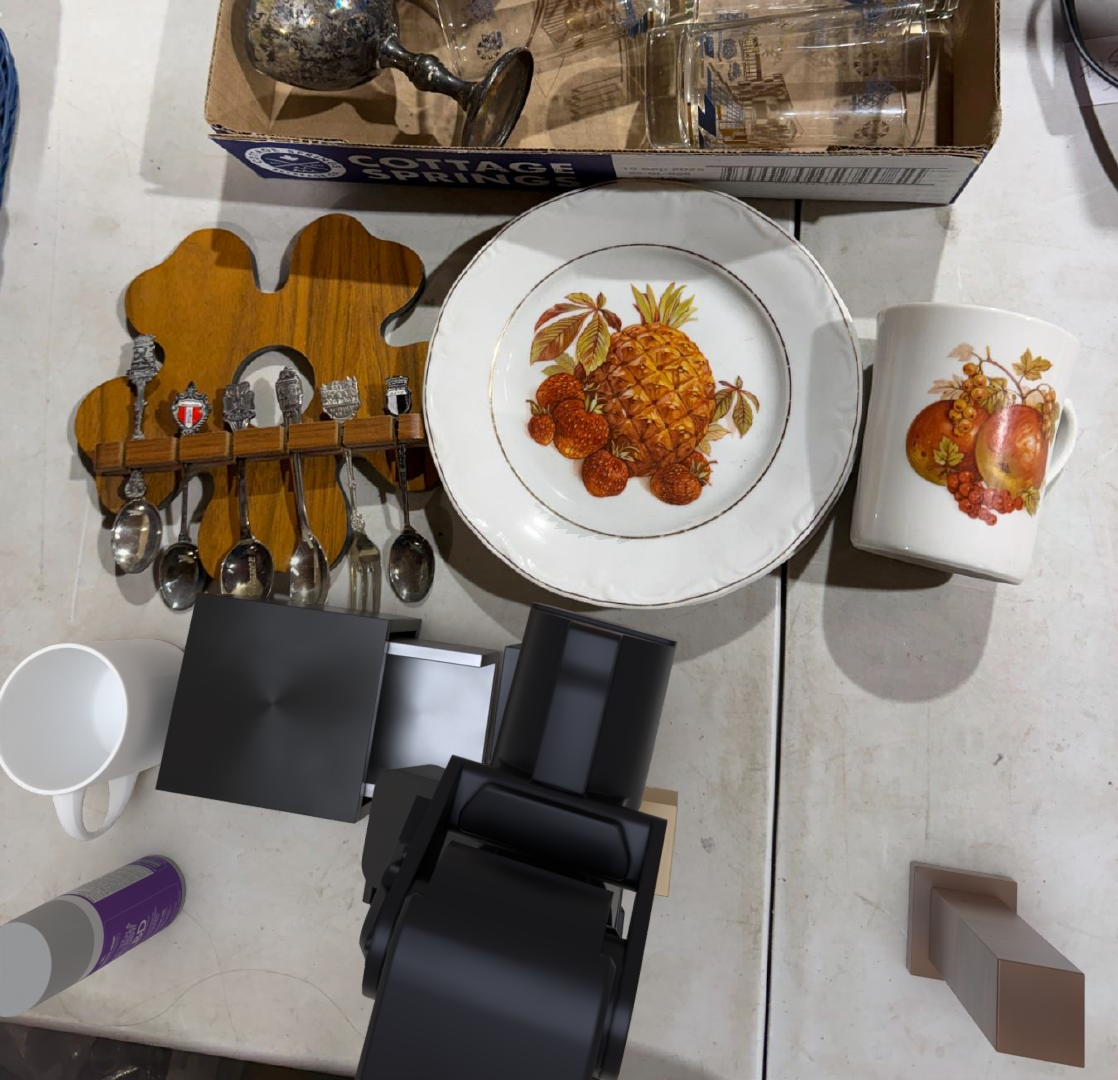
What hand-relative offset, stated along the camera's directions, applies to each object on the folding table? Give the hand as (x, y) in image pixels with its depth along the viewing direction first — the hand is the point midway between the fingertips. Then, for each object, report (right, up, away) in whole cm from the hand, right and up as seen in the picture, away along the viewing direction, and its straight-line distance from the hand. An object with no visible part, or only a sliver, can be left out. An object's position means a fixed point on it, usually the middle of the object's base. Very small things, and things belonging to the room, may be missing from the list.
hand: (581, 809), depth 54 cm
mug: (-30, -2, +17) cm, 34 cm away
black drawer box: (-18, +1, +16) cm, 24 cm away
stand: (+23, -11, +8) cm, 27 cm away
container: (-28, -12, +14) cm, 34 cm away
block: (+2, +1, -4) cm, 5 cm away
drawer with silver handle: (-7, 0, +13) cm, 15 cm away
